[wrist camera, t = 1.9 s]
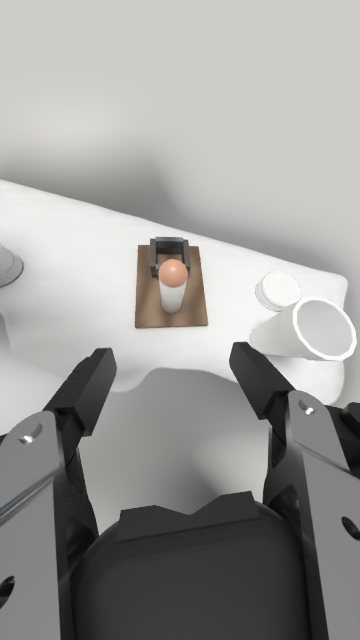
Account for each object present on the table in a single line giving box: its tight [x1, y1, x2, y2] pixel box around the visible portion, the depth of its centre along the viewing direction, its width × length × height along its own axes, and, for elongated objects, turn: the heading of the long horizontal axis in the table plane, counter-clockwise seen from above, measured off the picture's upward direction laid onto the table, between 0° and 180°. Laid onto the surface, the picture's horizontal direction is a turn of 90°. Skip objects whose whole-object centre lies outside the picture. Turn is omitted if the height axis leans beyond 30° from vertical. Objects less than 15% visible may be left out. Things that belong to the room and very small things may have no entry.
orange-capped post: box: [159, 259, 188, 314], centre depth 25 cm, size 4×4×13 cm
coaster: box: [256, 271, 302, 311], centre depth 34 cm, size 10×10×4 cm
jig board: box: [135, 237, 208, 328], centre depth 31 cm, size 16×22×5 cm
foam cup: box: [250, 296, 357, 361], centre depth 25 cm, size 10×9×13 cm
